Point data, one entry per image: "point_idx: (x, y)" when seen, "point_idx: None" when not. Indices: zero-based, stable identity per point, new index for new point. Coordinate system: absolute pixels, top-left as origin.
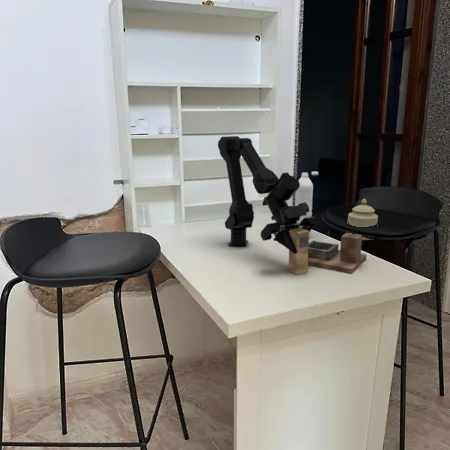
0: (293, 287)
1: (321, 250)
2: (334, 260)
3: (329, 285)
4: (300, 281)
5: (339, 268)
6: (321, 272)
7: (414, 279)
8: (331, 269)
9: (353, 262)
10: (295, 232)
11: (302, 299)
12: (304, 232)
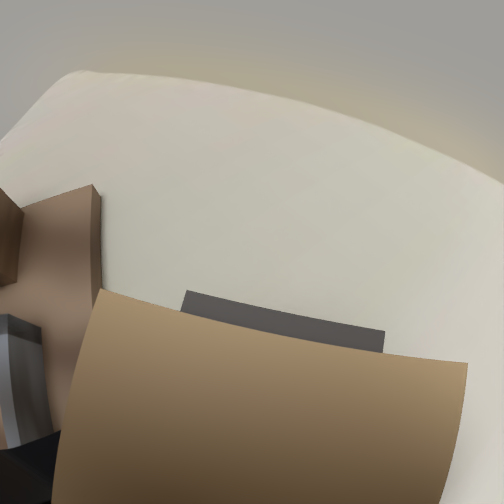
0: (433, 281)
1: (9, 366)
2: (25, 304)
3: (292, 188)
4: (361, 307)
5: (94, 240)
6: (165, 305)
7: (69, 84)
8: (101, 285)
9: (21, 220)
10: (434, 481)
11: (462, 195)
12: (263, 338)
